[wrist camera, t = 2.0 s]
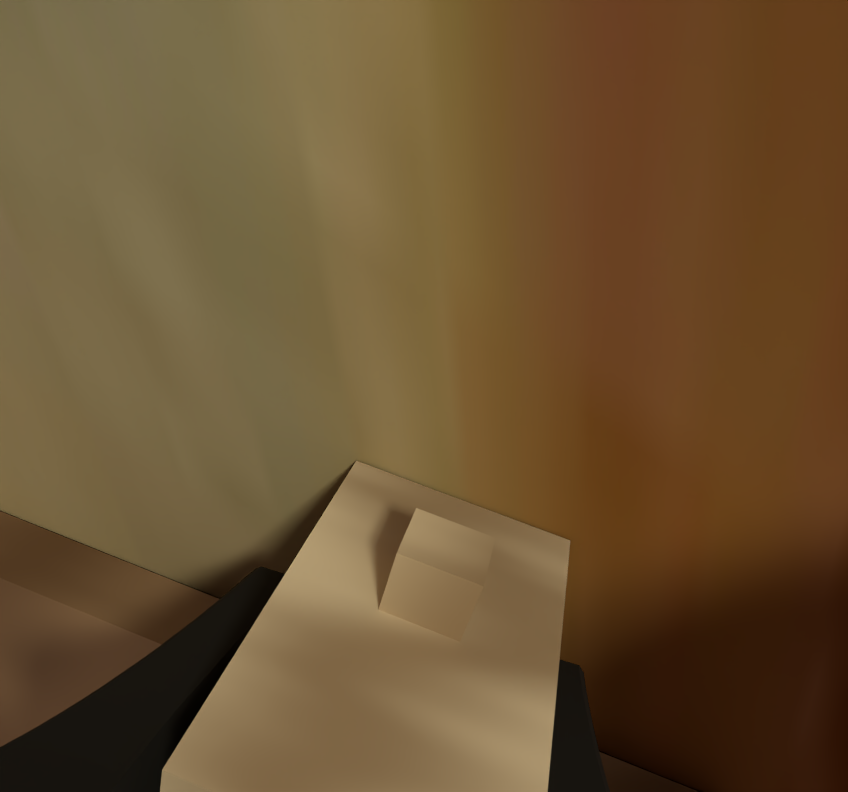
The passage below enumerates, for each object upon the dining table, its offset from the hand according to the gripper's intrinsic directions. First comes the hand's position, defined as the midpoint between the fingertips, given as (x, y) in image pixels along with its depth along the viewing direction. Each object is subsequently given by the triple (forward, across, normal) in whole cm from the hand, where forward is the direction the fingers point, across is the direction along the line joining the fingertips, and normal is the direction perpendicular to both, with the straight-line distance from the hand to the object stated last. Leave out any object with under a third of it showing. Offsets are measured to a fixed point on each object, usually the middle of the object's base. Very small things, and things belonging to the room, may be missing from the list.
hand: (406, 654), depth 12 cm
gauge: (+2, 0, +2) cm, 3 cm away
